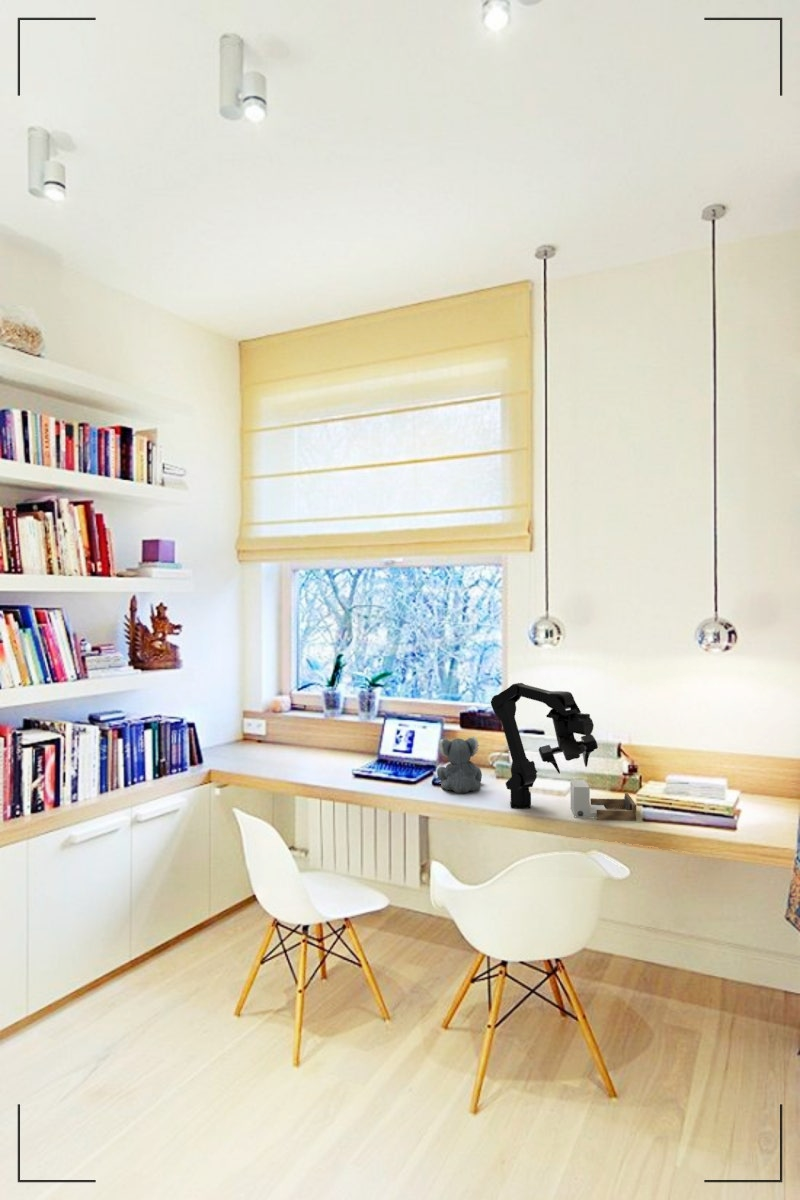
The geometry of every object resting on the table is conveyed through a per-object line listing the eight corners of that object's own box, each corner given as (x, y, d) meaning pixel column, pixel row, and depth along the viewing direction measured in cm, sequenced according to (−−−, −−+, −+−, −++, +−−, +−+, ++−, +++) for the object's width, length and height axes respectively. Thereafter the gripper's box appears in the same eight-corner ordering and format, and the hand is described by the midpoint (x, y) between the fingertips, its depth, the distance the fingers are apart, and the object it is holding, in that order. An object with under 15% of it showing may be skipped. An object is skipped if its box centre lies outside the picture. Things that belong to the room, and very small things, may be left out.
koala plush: (481, 782, 296) (480, 732, 295) (485, 794, 278) (485, 741, 277) (436, 782, 296) (436, 732, 296) (438, 795, 278) (437, 741, 278)
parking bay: (597, 819, 246) (596, 804, 246) (590, 807, 260) (590, 792, 260) (636, 820, 245) (636, 805, 245) (627, 807, 259) (627, 793, 259)
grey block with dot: (574, 817, 249) (574, 787, 249) (570, 808, 259) (570, 779, 259) (608, 818, 248) (608, 787, 248) (603, 809, 258) (603, 780, 258)
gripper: (541, 747, 243) (550, 789, 247) (598, 733, 242) (606, 775, 247) (534, 731, 253) (543, 771, 258) (588, 718, 253) (597, 758, 257)
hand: (572, 769), depth 255 cm, fingers open, 9 cm apart
